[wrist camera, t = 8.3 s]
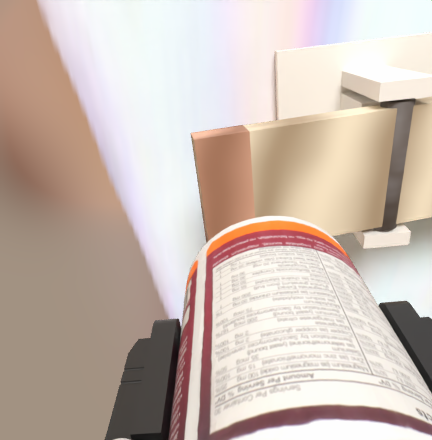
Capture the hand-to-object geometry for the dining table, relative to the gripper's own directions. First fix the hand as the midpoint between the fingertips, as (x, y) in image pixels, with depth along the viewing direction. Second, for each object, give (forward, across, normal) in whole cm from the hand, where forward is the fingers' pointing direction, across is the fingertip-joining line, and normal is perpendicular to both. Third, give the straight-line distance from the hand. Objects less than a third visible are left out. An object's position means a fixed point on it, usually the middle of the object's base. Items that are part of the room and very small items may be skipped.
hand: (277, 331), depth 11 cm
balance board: (+13, -9, 0) cm, 16 cm away
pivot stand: (+19, -9, 0) cm, 21 cm away
